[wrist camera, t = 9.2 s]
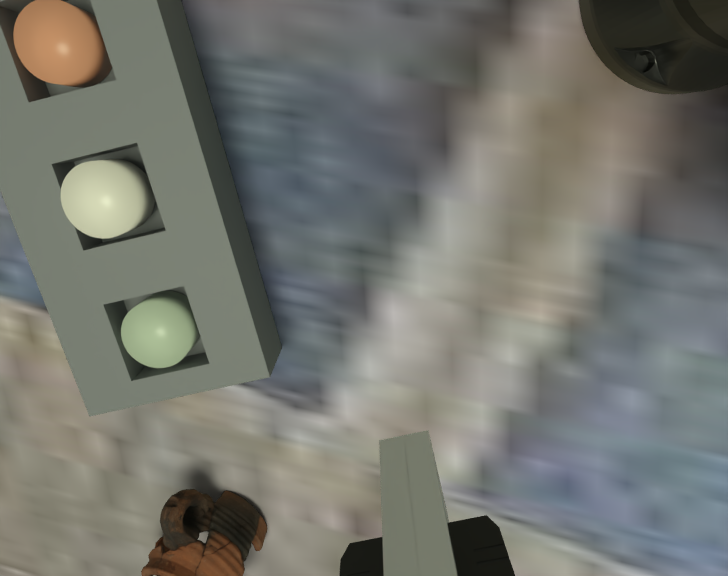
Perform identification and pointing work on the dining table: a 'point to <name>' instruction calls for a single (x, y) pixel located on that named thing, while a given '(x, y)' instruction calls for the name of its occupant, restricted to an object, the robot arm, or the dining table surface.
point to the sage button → (160, 329)
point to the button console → (163, 228)
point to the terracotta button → (61, 44)
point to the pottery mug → (224, 542)
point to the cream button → (107, 197)
